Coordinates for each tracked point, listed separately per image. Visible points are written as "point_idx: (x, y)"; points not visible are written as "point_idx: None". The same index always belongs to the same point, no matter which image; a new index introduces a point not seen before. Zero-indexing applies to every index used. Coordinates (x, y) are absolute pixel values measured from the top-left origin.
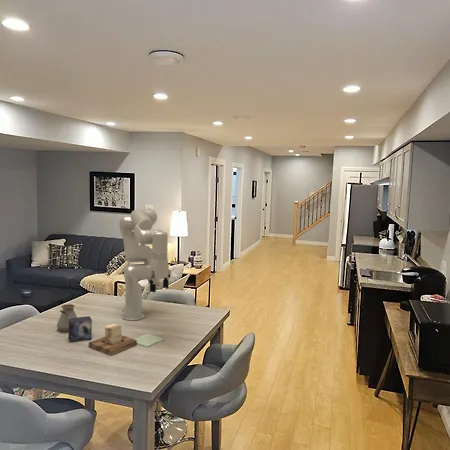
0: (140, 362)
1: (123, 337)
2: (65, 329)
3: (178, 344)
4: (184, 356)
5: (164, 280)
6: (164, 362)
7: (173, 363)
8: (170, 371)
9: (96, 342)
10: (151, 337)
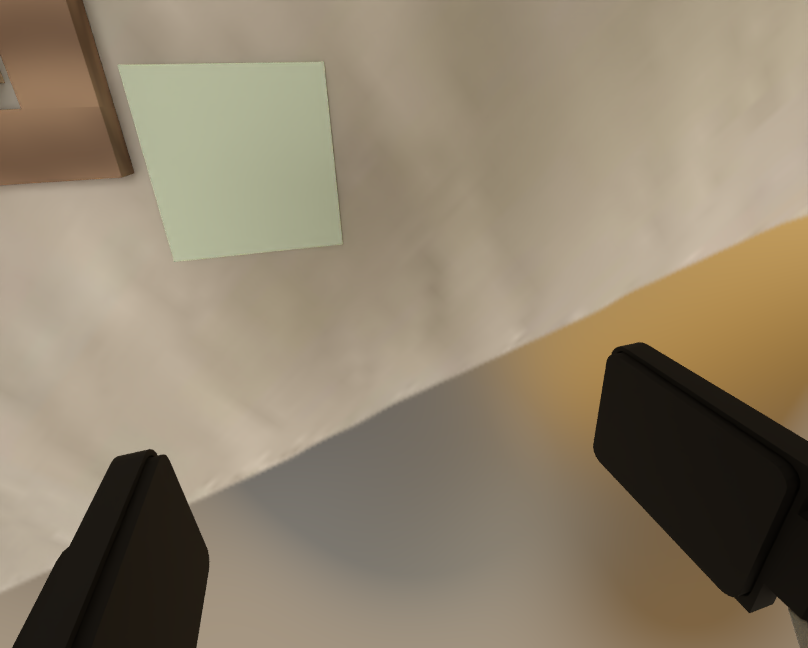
0: (14, 401)
1: (37, 20)
2: None
3: (356, 345)
4: (272, 465)
5: (780, 516)
6: None
7: None
8: None
9: None
10: (298, 156)
